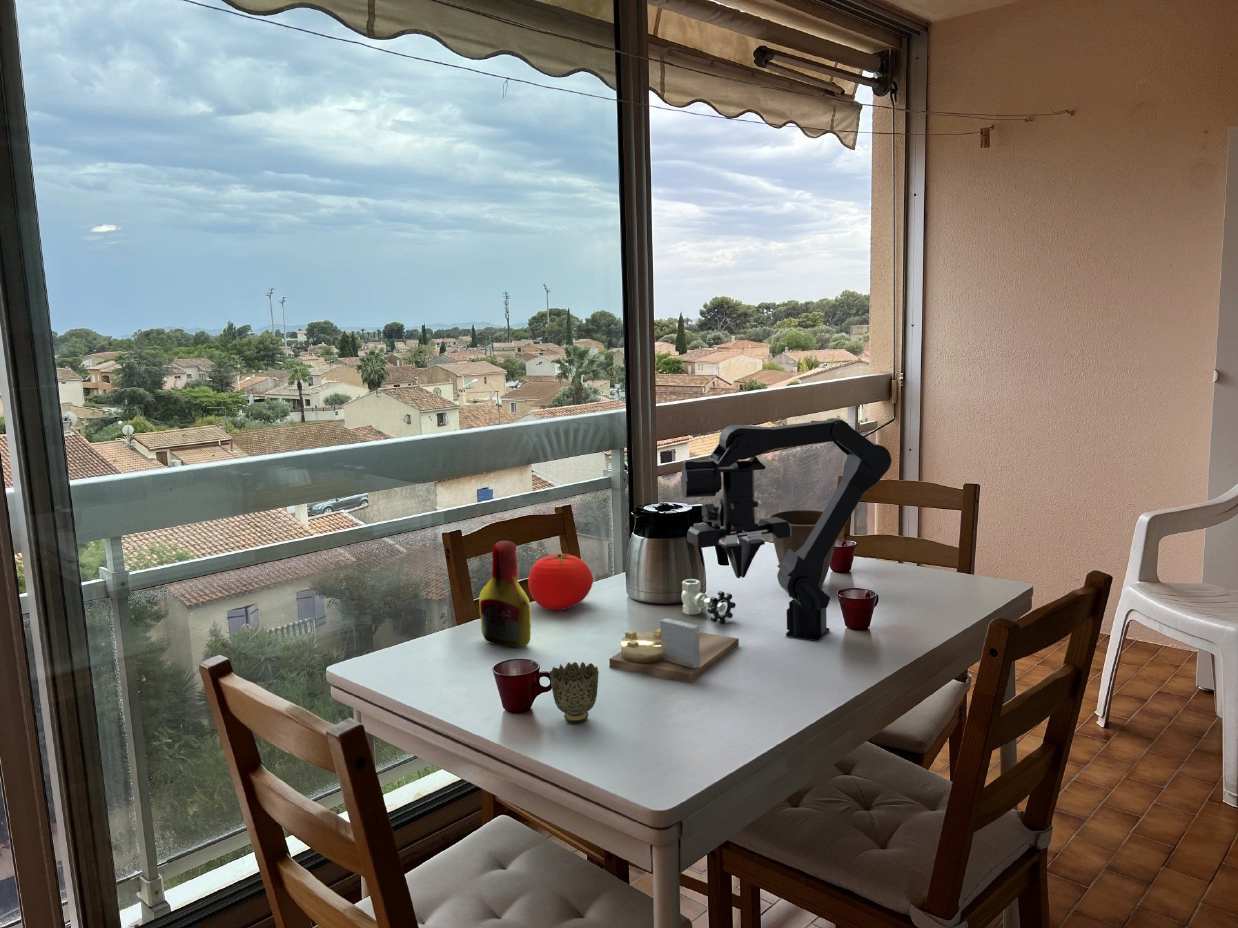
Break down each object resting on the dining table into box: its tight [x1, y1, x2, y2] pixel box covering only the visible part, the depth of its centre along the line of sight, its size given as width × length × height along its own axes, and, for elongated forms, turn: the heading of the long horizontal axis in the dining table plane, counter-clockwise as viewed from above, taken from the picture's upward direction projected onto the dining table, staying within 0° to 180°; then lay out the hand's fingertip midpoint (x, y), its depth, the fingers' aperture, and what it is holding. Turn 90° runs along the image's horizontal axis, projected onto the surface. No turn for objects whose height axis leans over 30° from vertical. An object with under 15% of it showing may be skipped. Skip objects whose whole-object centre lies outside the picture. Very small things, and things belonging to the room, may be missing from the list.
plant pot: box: [769, 509, 837, 590], centre depth 199 cm, size 15×15×16 cm
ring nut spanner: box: [620, 617, 700, 668], centre depth 157 cm, size 16×9×7 cm, turn 48°
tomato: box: [527, 552, 594, 611], centre depth 193 cm, size 13×14×12 cm
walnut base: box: [608, 626, 740, 684], centre depth 162 cm, size 16×19×2 cm
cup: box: [549, 661, 600, 725], centre depth 137 cm, size 8×7×8 cm
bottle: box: [478, 540, 532, 649], centre depth 171 cm, size 12×6×20 cm, turn 48°
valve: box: [681, 578, 736, 625], centre depth 183 cm, size 7×7×12 cm
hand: (740, 577), depth 168 cm, fingers closed
